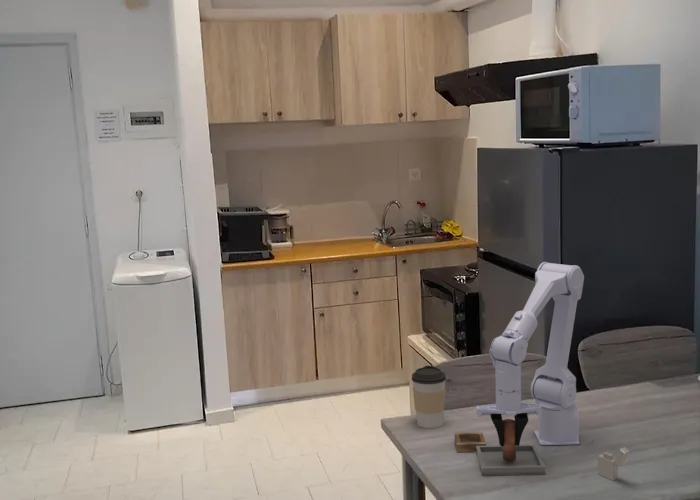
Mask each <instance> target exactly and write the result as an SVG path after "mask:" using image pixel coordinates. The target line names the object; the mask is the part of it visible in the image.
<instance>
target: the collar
mask: <svg viewBox="0 0 700 500" xmlns="http://www.w3.org/2000/svg"><path fill="white" fill-rule="evenodd" d="M453 435H454V445H455V449H456V452H457V453H476V446H487V442H486V439H485V436H484V434H483V432H481V431H478V432H475V431H474V432H454V434H453Z"/></svg>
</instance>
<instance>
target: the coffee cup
mask: <svg viewBox="0 0 700 500" xmlns="http://www.w3.org/2000/svg"><path fill="white" fill-rule="evenodd" d="M446 379H447V378H446V373H445V372H443V371H442V370H441V368H438V367H436V366H434V365H425V366H422V367H420V368H417V369H416V370H415V372H413V373H412V375H411V381H412V392H413V401H414V402H413V403H414V410H415V414H416V424H417V425H418V426H419V427H420V428H425V429H435V428H440V427H442V426H443V425H444V410H445V402H446V401H445V399H446Z"/></svg>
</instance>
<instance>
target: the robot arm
mask: <svg viewBox="0 0 700 500" xmlns="http://www.w3.org/2000/svg"><path fill="white" fill-rule="evenodd" d="M584 281H585V275H584V272H583V271H582V268H581V267H580V266H579V265H576V264H574V265H572V264H571V265H570V264H561V263H552V262H548V261H543V262H541V263H539V265H538V267H537V270H536V271H535V274H534V282H535V285H534V287H533V289H532V291H531V293H530V295H529V297H528V299H527V300H526V303H525V305H524V307H523V309H522V310H517V311H516V312H515V313H514V314H513V316H512V318H511V319H510V321H509V323H508V325H507V326H506V327H505V329H504V330H503V332H502V333H501V335H499V336H496V337H495V338H493V340H492V342H491V344H490V348H489V351H488V352H489V356H490V359H491V360H492V366H493V368H494V369H495V374H494V375H495V403H491V404H489V403H488V404H483V405H476V416H477V417H478V418H482V417H483V416H489V417H490V419H491V421H492V424H493V426H494V428H495V429H496V433H497V437H498V443H499V444H498V445H500V446H504V441H503V420H504V419H503V416H507V417H514V420H515V422H516V446H519V445H521V444H520V442H521V438H522V435H523V433H524V430H525V428H526V426H527V425H528V423H529V417H528V415H537V416H538V419H537V420H538V422H537V423H538V430H534V434H535V437H536V438H537V440H538V442H539V445H541V446H556V445H557V446H560V445H561V446H564V445H566V446H568V445H580V435H579V434H580V419H579V409H578V407H577V405H576V404H575V403H574V402H575V401H576V399H577V387H576V386H577V378H576V376H575V375H574V374H573V373H572V371H570V369H569V368H568V362H569V358H570V357H569V356H570V350H571V345H572V339H573V332H574V324H575V319H576V313H577V312H576V311H577V304H578V301H579V300H581V298H582V294H583V288H584ZM550 299H553V301H554V306H553V307H554V308H553V312H552V313H553V314H552V318H551V320H552V321H551V325H550V332H549V339H548V344H547V345H548V347H547V352H546V359H545V364H544V365H542V366H541V367H539V368H537V369H536V370H535V373H534V377H533V380H532V381H531V383H530V394H531V397H532V398H533V400H535V403H527V402H526V403H525V402H522V365H521V364H522V362H524V360H525V359H526V357H527V350H528V346H529V340H530V338H532V335H534V332H535V331H536V329H537V327H538V325H539V324H538V320H537V318H538V316H539V315H540V314H541V312H542V311H543V309H544V308H545V306H546V305H547V304H548V302H549V301H550Z"/></svg>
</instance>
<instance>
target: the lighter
mask: <svg viewBox="0 0 700 500" xmlns="http://www.w3.org/2000/svg"><path fill="white" fill-rule="evenodd" d="M630 453H631V452H630V450H629V449H628V448H627V447H626V446H624V447H621V448H620V449H619V450H618V452H617V454H616V456H615V458H614V454H613V453H610V452H607V451H606V452H602V454H599V455H597V456H598V458H597V459H598V461H597V466H598V467H597V470H598V471H597V474H598V475H600V476H602V477H604V478H606V479H609V480H610V481H615V480H618V479H619V467H621V466H622V465H624V463H626V462H625V461H626V460H627V458H628V456H629V454H630Z"/></svg>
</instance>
